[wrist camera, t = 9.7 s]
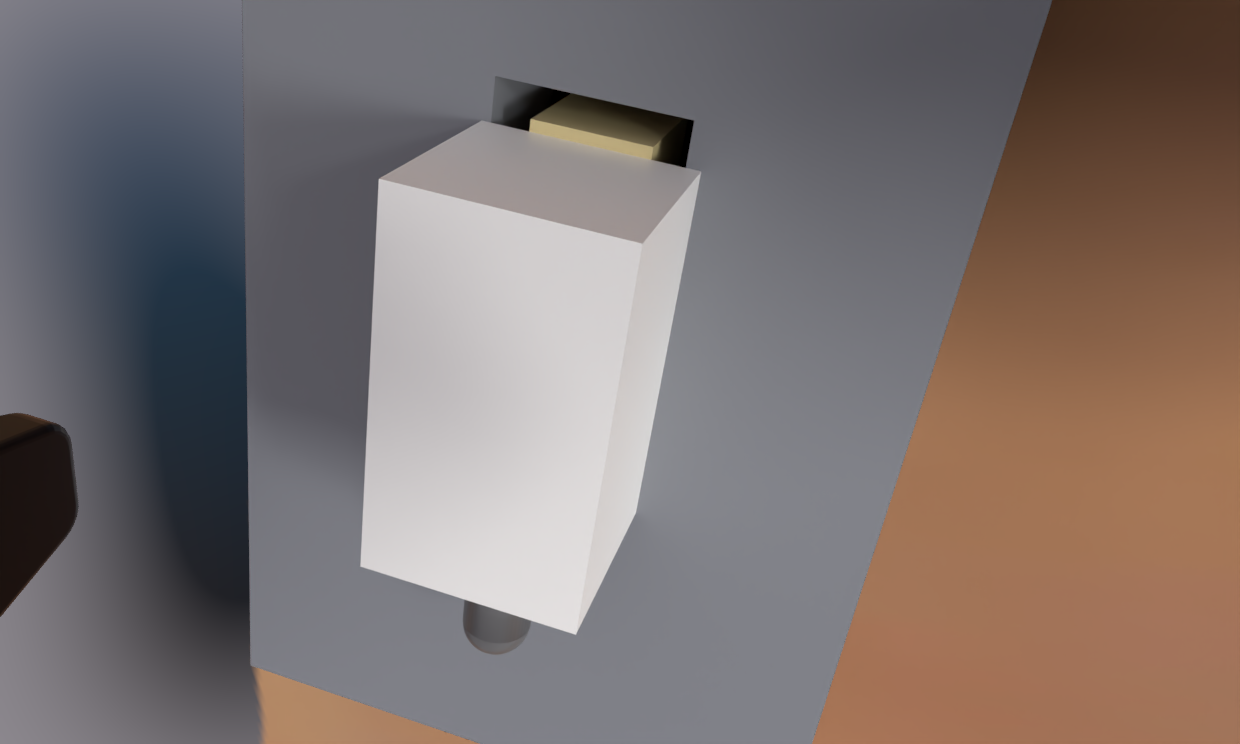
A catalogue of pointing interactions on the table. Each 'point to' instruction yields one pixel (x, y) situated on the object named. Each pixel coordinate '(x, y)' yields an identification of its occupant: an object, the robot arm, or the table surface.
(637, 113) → the plug
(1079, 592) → the table surface
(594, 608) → the socket
